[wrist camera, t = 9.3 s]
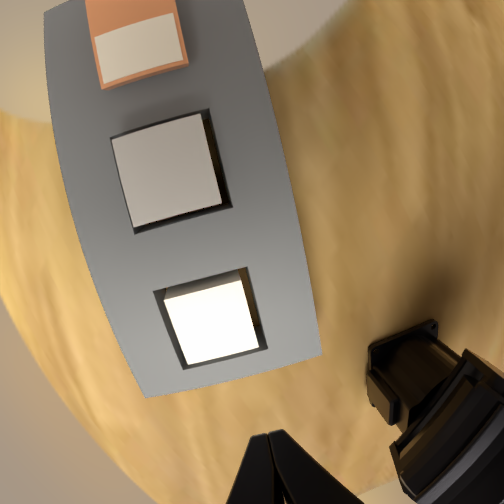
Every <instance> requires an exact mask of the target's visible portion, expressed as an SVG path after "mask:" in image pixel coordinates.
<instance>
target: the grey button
mask: <svg viewBox="0 0 504 504" xmlns="http://www.w3.org/2000/svg"><path fill="white" fill-rule="evenodd" d="M112 144H113V149H114V153H115V157H116V162H117V166H118V170H119V174H120V178H121V183H122V186H123V190H124V194H125V198H126V202H127V206H128V209H129V213H130V216H131V220H132V223H133V227H137V226H140V225H144V224H147V223H151V222H154V221H158V220H161V219H165V218H168V217H172V216H175V215H179V214H183V213H186V212H190V211H194V210H197V209H201V208H205V207H209V206H213V205H216V204H220V203H222V201H221V197H220V193H219V189H218V185H217V181H216V177H215V173H214V168H213V164H212V160H211V156H210V152H209V148H208V144H207V140H206V135H205V131H204V127H203V123H202V119H201V114H197V115H193V116H189V117H185V118H181V119H177V120H174V121H170V122H167V123H163V124H160V125H156V126H153V127H150V128H146V129H143V130H140V131H137V132H134V133H131V134H128V135H125V136H122V137H119V138H116V139H113V140H112Z"/></svg>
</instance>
